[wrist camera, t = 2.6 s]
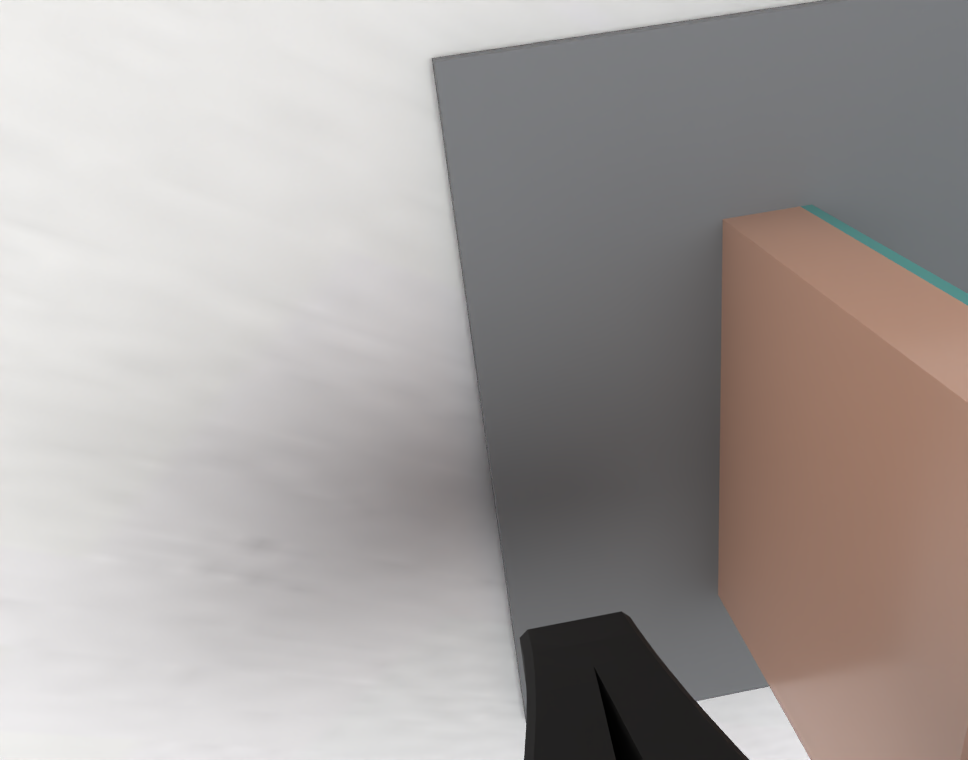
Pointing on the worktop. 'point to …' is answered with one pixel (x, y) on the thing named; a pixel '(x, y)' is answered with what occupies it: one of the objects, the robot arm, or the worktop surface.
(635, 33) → the rubber mat
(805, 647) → the glazed tile
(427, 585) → the worktop surface
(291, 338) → the worktop surface
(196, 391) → the worktop surface
